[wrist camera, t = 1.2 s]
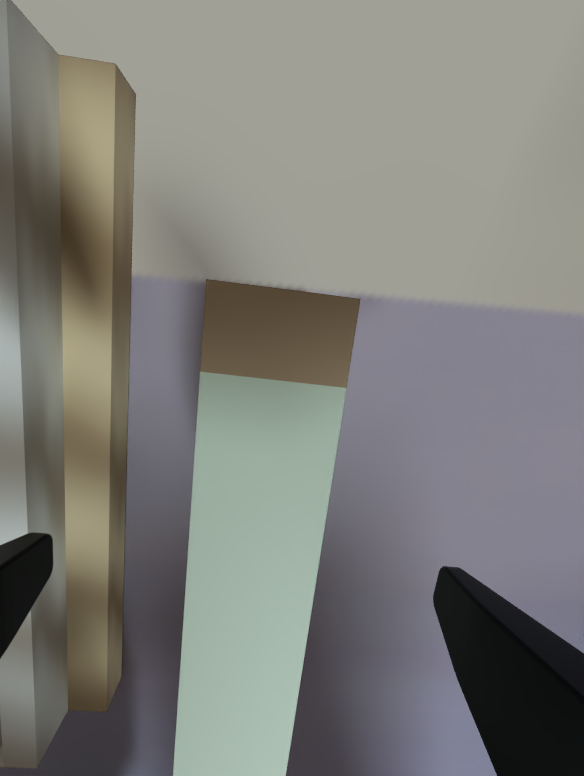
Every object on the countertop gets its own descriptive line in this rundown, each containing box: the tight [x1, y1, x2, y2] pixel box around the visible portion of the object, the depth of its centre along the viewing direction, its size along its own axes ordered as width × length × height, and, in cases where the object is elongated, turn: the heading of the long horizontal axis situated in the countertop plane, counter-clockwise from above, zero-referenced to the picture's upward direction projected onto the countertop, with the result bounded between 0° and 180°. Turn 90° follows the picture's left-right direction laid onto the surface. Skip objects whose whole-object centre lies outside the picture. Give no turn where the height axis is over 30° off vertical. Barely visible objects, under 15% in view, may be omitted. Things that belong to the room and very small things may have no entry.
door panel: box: [173, 279, 360, 776], centre depth 10 cm, size 12×2×9 cm, turn 173°
